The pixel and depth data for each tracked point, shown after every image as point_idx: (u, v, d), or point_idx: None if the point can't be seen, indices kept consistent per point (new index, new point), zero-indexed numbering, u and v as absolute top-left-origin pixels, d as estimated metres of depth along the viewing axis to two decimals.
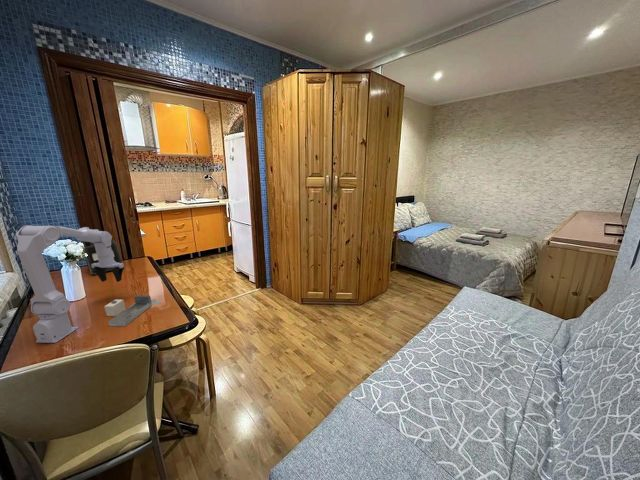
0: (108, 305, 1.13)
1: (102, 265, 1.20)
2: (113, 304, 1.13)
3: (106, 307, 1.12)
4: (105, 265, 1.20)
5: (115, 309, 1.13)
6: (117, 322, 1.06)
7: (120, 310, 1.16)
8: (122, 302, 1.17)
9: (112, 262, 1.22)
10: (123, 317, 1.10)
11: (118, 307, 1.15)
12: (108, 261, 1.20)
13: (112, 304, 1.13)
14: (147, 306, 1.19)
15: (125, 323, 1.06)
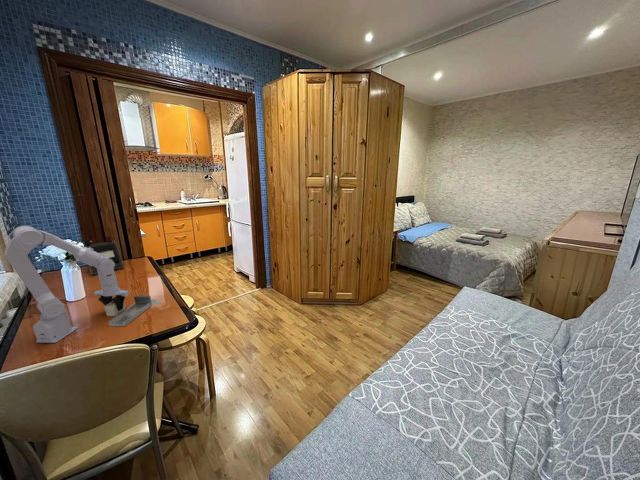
0: (108, 305, 1.13)
1: (106, 294, 1.10)
2: (113, 304, 1.13)
3: (106, 307, 1.12)
4: (109, 294, 1.11)
5: (114, 309, 1.13)
6: (117, 322, 1.06)
7: (120, 310, 1.16)
8: None
9: (116, 290, 1.13)
10: (123, 317, 1.10)
11: None
12: (112, 289, 1.11)
13: (112, 304, 1.13)
14: (147, 306, 1.19)
15: (125, 323, 1.06)
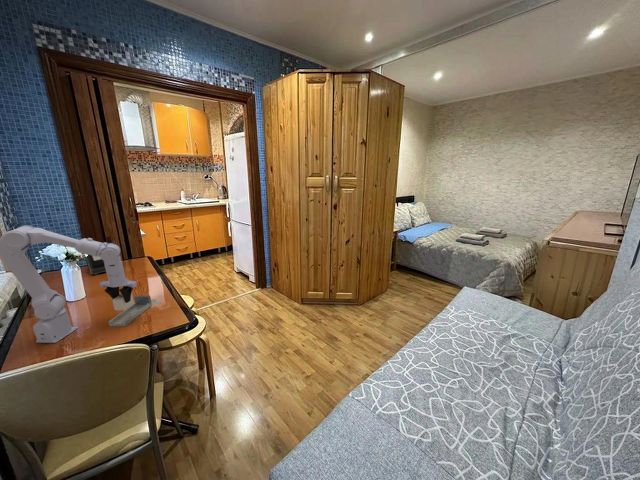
0: (116, 298, 1.06)
1: (112, 284, 1.03)
2: (121, 297, 1.07)
3: (114, 301, 1.06)
4: (116, 284, 1.04)
5: (123, 303, 1.07)
6: (117, 322, 1.06)
7: (128, 304, 1.10)
8: None
9: (124, 281, 1.06)
10: (123, 317, 1.10)
11: None
12: (119, 280, 1.04)
13: (120, 297, 1.07)
14: (147, 306, 1.19)
15: (125, 323, 1.06)
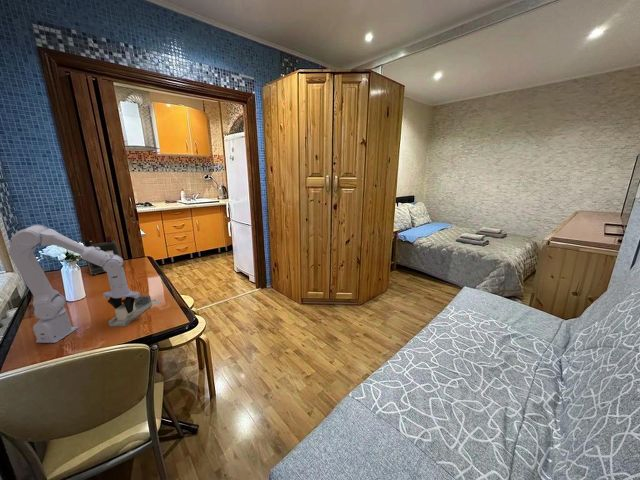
0: (119, 308, 1.08)
1: (115, 295, 1.05)
2: (124, 307, 1.08)
3: (117, 310, 1.07)
4: (119, 295, 1.05)
5: (125, 312, 1.08)
6: (117, 322, 1.06)
7: (131, 313, 1.11)
8: (133, 305, 1.12)
9: (126, 291, 1.07)
10: None
11: None
12: (122, 291, 1.06)
13: (123, 307, 1.08)
14: (147, 306, 1.19)
15: (125, 323, 1.06)
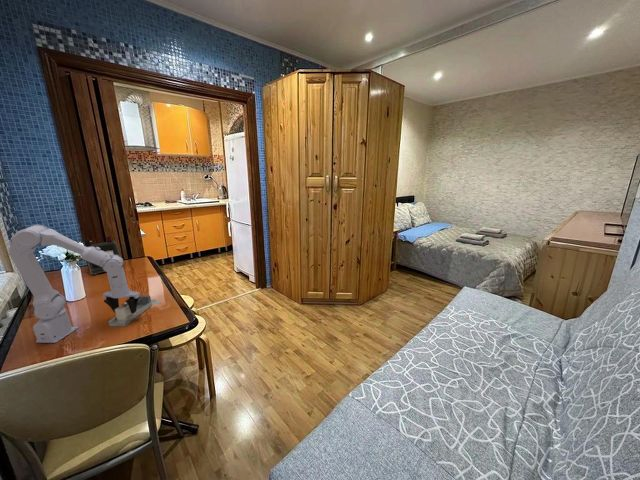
0: (119, 308, 1.08)
1: (115, 296, 1.05)
2: (124, 307, 1.08)
3: (117, 310, 1.07)
4: (119, 295, 1.05)
5: (125, 312, 1.08)
6: (117, 322, 1.06)
7: (131, 313, 1.11)
8: None
9: (126, 291, 1.07)
10: None
11: (129, 310, 1.10)
12: (122, 291, 1.06)
13: (123, 307, 1.08)
14: (147, 306, 1.19)
15: (125, 323, 1.06)
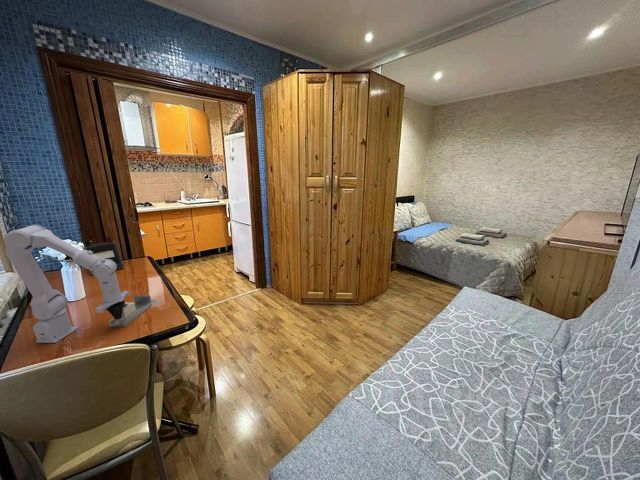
0: None
1: None
2: (124, 307, 1.08)
3: None
4: None
5: (125, 312, 1.08)
6: (117, 322, 1.06)
7: (131, 313, 1.11)
8: (133, 305, 1.12)
9: (106, 301, 1.01)
10: None
11: (129, 310, 1.10)
12: (103, 298, 1.01)
13: (123, 307, 1.08)
14: (147, 306, 1.19)
15: (125, 323, 1.06)
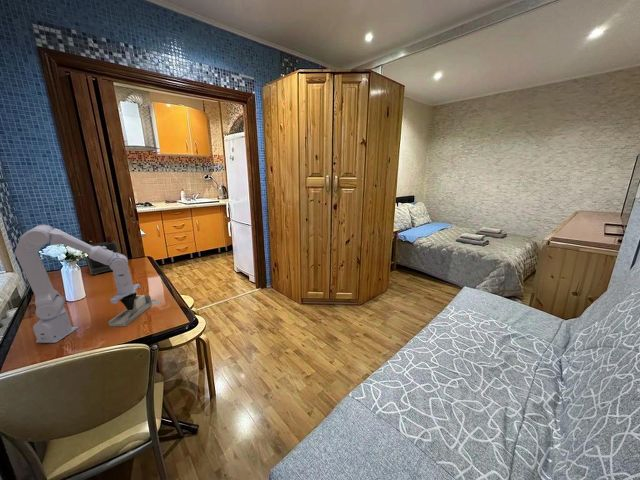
0: None
1: None
2: (135, 299, 1.15)
3: None
4: None
5: (137, 304, 1.14)
6: (117, 322, 1.06)
7: (141, 305, 1.17)
8: (143, 298, 1.18)
9: (120, 292, 1.07)
10: (123, 317, 1.10)
11: (140, 303, 1.16)
12: (117, 290, 1.08)
13: None
14: (147, 306, 1.19)
15: (125, 323, 1.06)
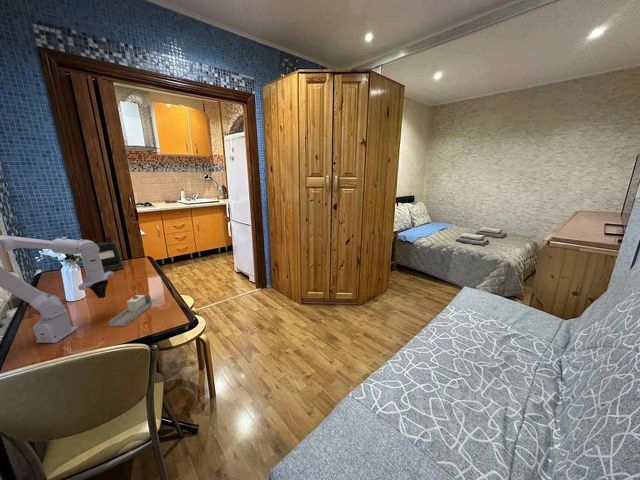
0: (130, 300, 1.14)
1: None
2: (135, 299, 1.15)
3: (128, 302, 1.13)
4: None
5: (137, 304, 1.14)
6: (117, 322, 1.06)
7: (141, 305, 1.17)
8: (143, 298, 1.18)
9: (89, 279, 1.04)
10: (123, 317, 1.10)
11: (140, 303, 1.16)
12: None
13: (134, 299, 1.15)
14: (147, 306, 1.19)
15: (125, 323, 1.06)
